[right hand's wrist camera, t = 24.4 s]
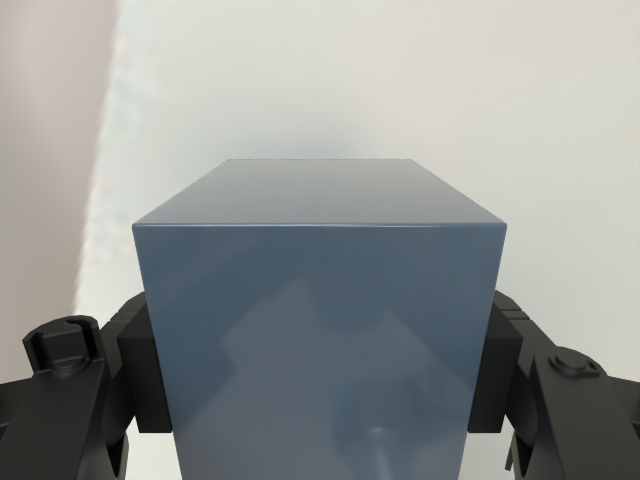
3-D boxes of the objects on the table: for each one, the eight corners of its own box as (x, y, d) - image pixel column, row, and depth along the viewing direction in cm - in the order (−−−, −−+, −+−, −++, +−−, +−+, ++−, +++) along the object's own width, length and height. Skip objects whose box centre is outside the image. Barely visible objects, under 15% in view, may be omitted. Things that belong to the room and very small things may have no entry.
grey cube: (396, 328, 17) (454, 501, 10) (243, 328, 17) (185, 502, 10) (411, 158, 14) (509, 223, 7) (227, 159, 14) (129, 224, 7)
